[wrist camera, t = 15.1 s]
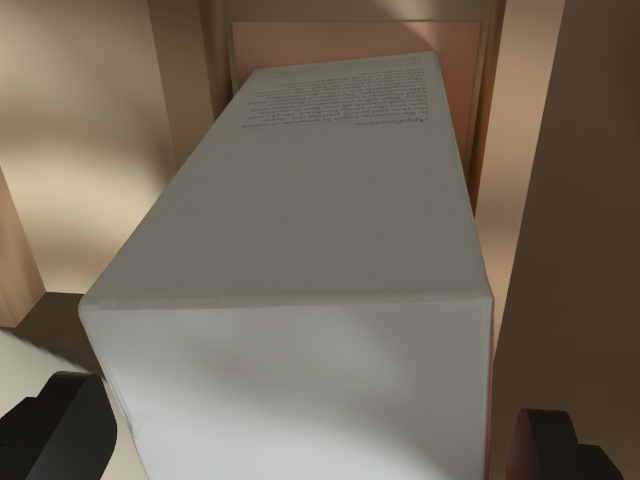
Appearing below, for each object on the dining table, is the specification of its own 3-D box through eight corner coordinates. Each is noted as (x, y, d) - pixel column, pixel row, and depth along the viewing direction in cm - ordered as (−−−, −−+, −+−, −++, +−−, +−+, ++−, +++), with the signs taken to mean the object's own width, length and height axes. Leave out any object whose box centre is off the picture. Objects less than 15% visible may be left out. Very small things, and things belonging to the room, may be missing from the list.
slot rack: (-95, -46, 20) (-181, -31, 17) (543, -55, 17) (573, -40, 14) (28, 276, 27) (-17, 325, 24) (483, 302, 25) (494, 359, 22)
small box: (444, 251, 22) (487, 607, 12) (289, 258, 23) (193, 589, 13) (441, 42, 18) (502, 296, 7) (250, 62, 19) (56, 308, 8)
